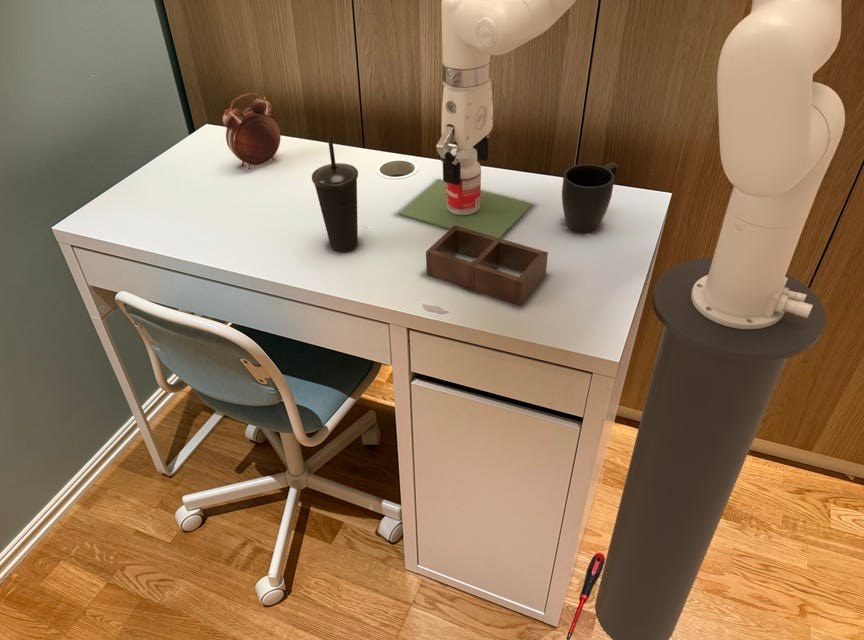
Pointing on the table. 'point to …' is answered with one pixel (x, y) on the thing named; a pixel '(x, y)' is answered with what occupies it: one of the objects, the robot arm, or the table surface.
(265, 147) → the alarm clock
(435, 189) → the mat
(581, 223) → the mug
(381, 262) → the table surface
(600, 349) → the table surface
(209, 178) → the table surface
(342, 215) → the drinking cup
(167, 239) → the table surface
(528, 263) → the wooden compartment box
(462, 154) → the pill bottle
